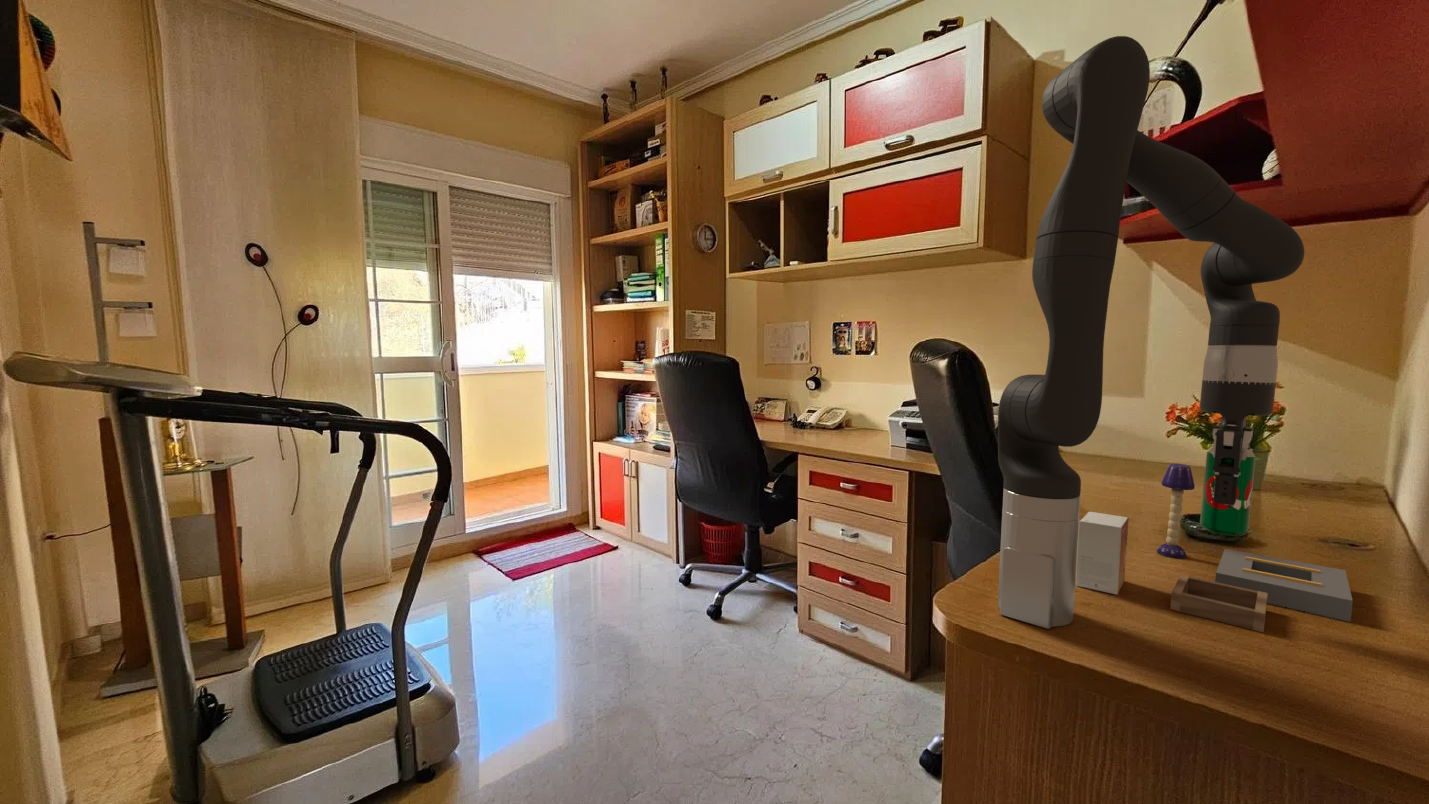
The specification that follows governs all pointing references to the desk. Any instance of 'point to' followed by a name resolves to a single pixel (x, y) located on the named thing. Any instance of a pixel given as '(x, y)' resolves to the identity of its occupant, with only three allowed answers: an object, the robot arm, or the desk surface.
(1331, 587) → the socket
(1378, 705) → the desk surface
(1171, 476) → the toy lamp
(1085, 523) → the small box
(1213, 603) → the wooden square frame
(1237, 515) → the soda can
